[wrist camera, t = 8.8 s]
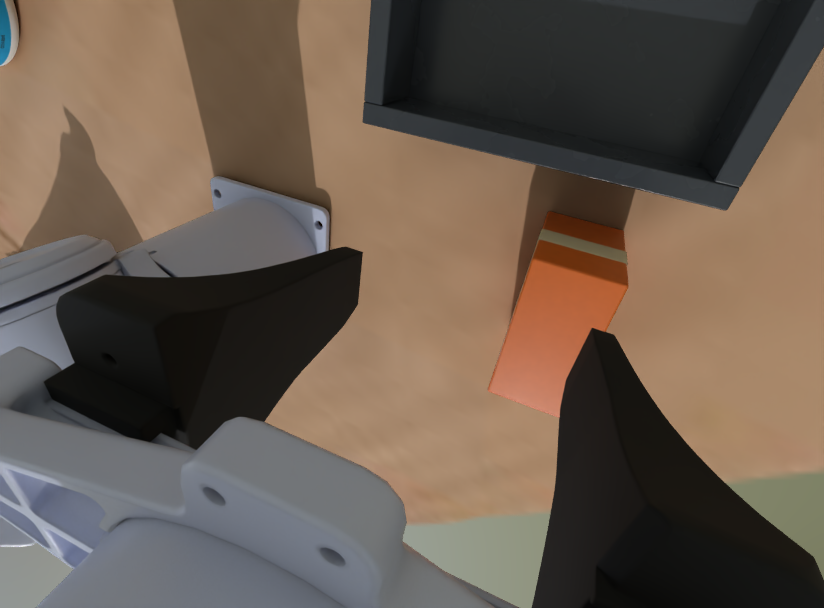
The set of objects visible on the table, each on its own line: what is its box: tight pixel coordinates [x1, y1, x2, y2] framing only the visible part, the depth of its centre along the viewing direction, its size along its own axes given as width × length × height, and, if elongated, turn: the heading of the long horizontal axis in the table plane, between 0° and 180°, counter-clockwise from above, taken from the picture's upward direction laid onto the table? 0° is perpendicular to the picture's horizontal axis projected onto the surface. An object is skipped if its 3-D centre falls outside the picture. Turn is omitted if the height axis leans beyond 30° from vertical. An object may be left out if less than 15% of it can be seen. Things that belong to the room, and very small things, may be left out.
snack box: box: [488, 211, 628, 418], centre depth 19 cm, size 7×3×5 cm, turn 173°
